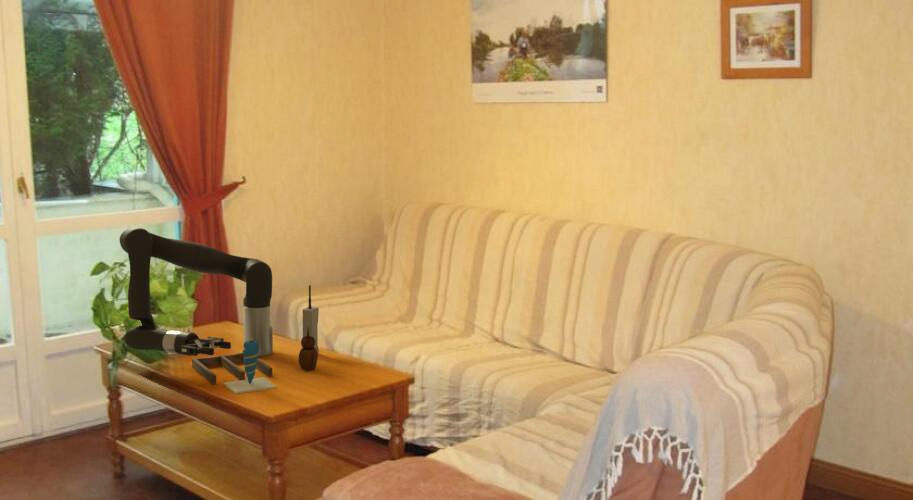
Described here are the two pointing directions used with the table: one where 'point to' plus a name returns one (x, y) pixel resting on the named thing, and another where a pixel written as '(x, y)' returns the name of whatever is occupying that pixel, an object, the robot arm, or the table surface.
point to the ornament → (250, 358)
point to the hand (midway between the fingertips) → (221, 348)
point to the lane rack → (226, 366)
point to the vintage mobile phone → (311, 321)
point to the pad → (249, 385)
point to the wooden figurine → (308, 353)
